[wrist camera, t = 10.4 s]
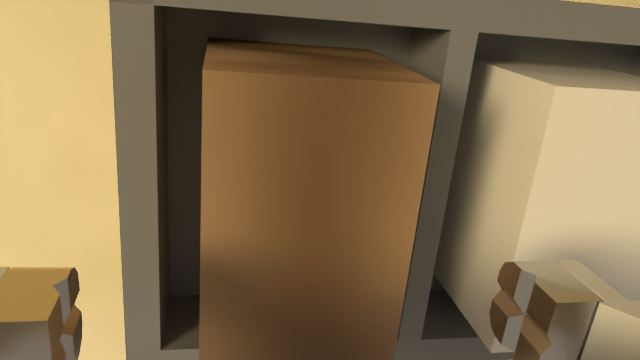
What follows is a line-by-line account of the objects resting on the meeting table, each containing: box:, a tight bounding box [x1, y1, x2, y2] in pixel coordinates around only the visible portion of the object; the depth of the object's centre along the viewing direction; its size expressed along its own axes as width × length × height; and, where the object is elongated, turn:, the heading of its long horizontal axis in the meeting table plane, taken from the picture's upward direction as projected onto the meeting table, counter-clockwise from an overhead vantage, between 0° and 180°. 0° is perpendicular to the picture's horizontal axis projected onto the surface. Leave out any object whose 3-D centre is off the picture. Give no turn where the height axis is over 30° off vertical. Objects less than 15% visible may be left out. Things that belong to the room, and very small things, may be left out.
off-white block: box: [433, 58, 640, 353], centre depth 17 cm, size 5×8×5 cm, turn 175°
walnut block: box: [199, 38, 440, 360], centre depth 15 cm, size 5×8×6 cm, turn 175°
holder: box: [109, 0, 640, 360], centre depth 18 cm, size 18×12×4 cm, turn 85°
